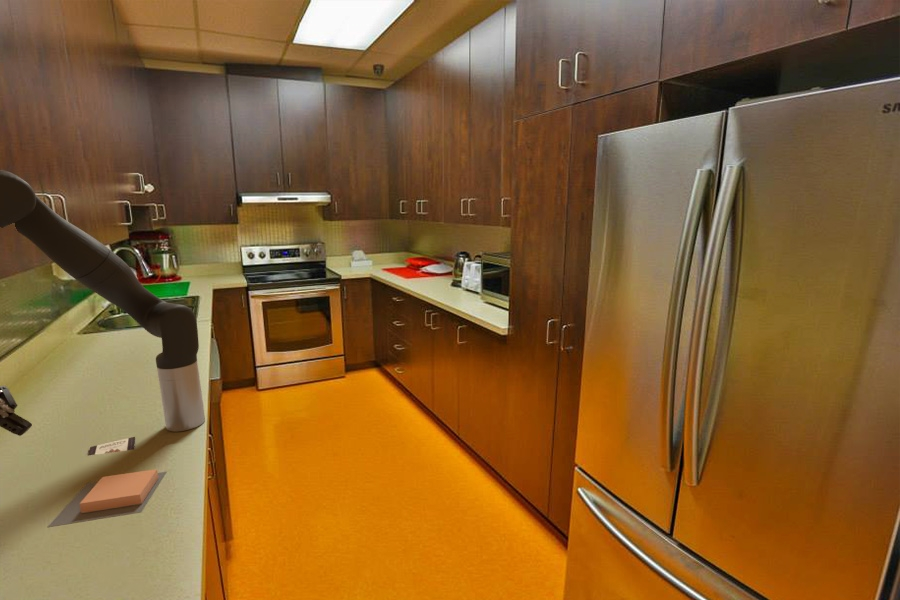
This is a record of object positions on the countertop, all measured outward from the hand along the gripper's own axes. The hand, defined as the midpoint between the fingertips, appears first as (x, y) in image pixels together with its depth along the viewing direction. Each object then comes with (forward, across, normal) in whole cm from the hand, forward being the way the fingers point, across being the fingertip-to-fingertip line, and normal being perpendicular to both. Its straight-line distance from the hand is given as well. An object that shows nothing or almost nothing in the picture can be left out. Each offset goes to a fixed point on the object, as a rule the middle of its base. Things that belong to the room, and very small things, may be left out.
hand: (26, 430), depth 85 cm
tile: (+16, -2, +4) cm, 17 cm away
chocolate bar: (+15, +16, +9) cm, 24 cm away
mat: (+20, -2, +3) cm, 21 cm away
